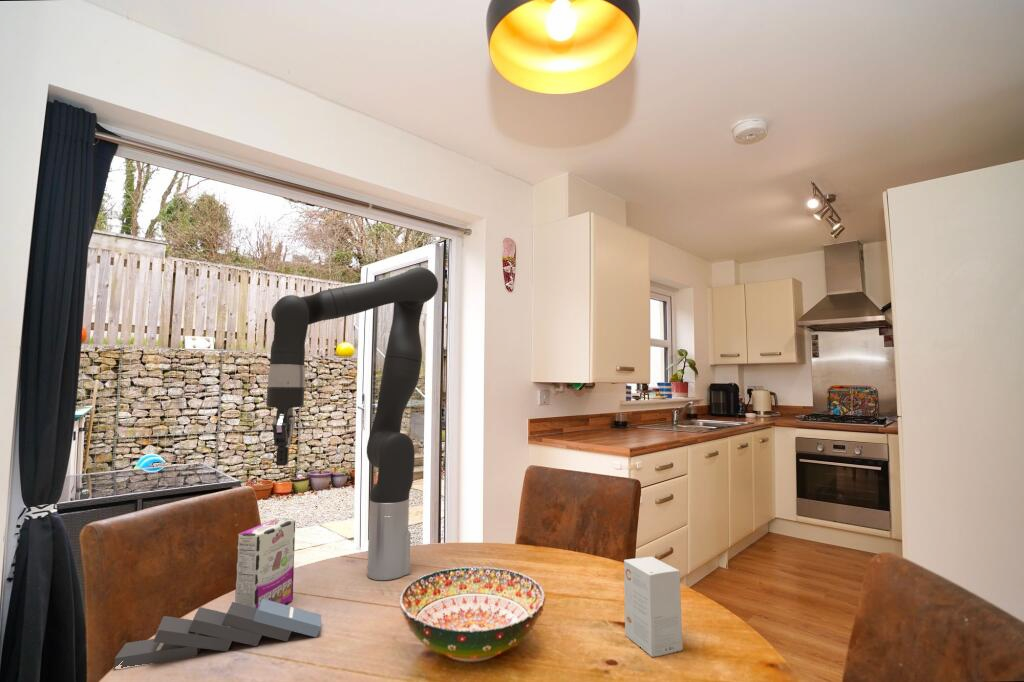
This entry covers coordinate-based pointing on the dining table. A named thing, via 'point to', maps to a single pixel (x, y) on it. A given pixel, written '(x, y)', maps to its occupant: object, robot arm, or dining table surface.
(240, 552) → the candy bar box
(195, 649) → the end domino
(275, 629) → the black domino
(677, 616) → the small box
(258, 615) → the slate domino
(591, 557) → the dining table surface
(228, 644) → the black domino
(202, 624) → the black domino
